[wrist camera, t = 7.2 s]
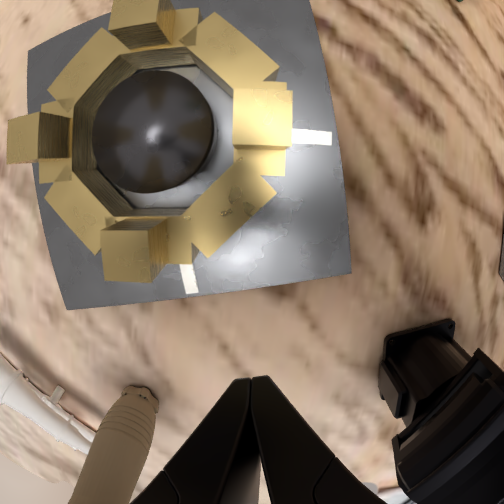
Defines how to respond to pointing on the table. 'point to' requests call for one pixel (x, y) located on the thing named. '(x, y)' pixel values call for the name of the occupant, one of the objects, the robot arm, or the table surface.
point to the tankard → (502, 262)
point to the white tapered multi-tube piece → (42, 408)
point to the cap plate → (272, 228)
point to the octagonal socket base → (84, 163)
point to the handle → (118, 450)
